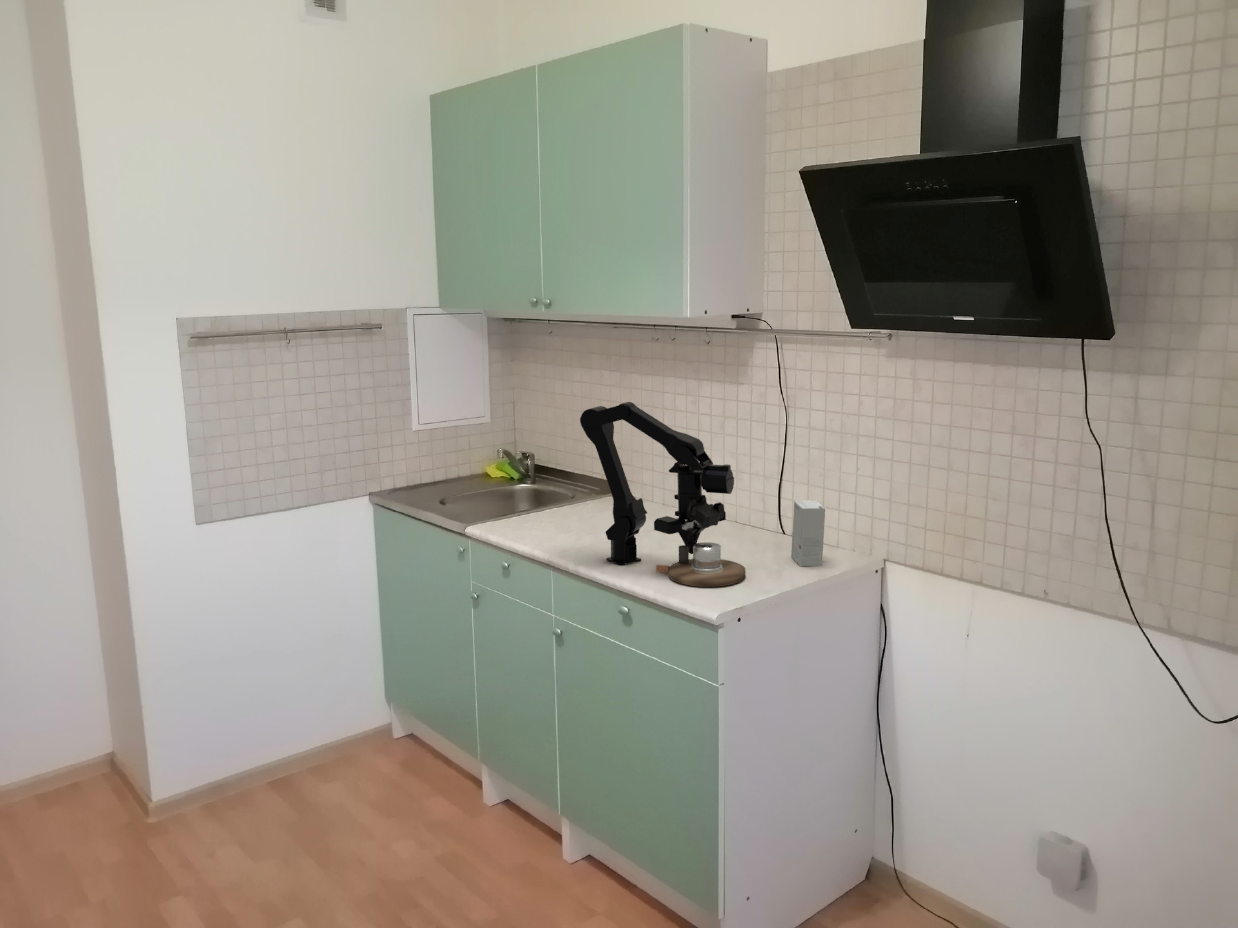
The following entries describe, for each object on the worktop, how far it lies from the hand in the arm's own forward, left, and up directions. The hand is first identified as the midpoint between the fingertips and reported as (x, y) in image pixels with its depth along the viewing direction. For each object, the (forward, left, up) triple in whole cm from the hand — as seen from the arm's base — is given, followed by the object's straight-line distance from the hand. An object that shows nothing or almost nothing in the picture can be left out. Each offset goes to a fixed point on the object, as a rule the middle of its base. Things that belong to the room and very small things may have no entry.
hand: (691, 553), depth 236 cm
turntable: (+8, -2, -4) cm, 9 cm away
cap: (+8, -2, -2) cm, 8 cm away
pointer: (-2, -7, -4) cm, 8 cm away
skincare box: (+15, +25, -4) cm, 29 cm away
